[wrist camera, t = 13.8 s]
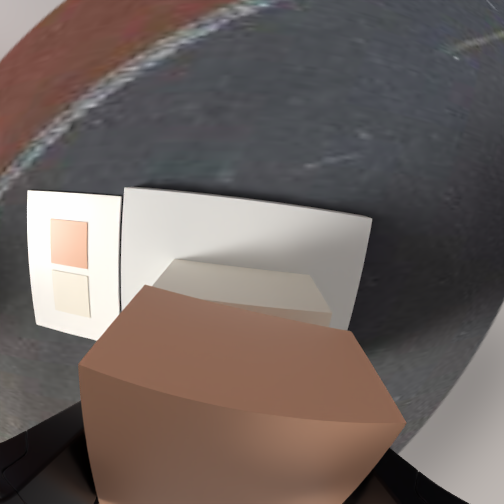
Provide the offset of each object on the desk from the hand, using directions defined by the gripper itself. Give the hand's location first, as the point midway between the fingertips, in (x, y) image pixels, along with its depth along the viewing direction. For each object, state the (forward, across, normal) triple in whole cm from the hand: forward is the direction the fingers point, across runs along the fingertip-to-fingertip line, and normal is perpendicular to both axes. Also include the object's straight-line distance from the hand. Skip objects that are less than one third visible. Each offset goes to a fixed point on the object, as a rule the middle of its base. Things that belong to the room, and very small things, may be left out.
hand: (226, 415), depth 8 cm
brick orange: (+1, 0, 0) cm, 1 cm away
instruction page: (+7, +9, -1) cm, 12 cm away
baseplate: (+7, 0, 0) cm, 7 cm away
